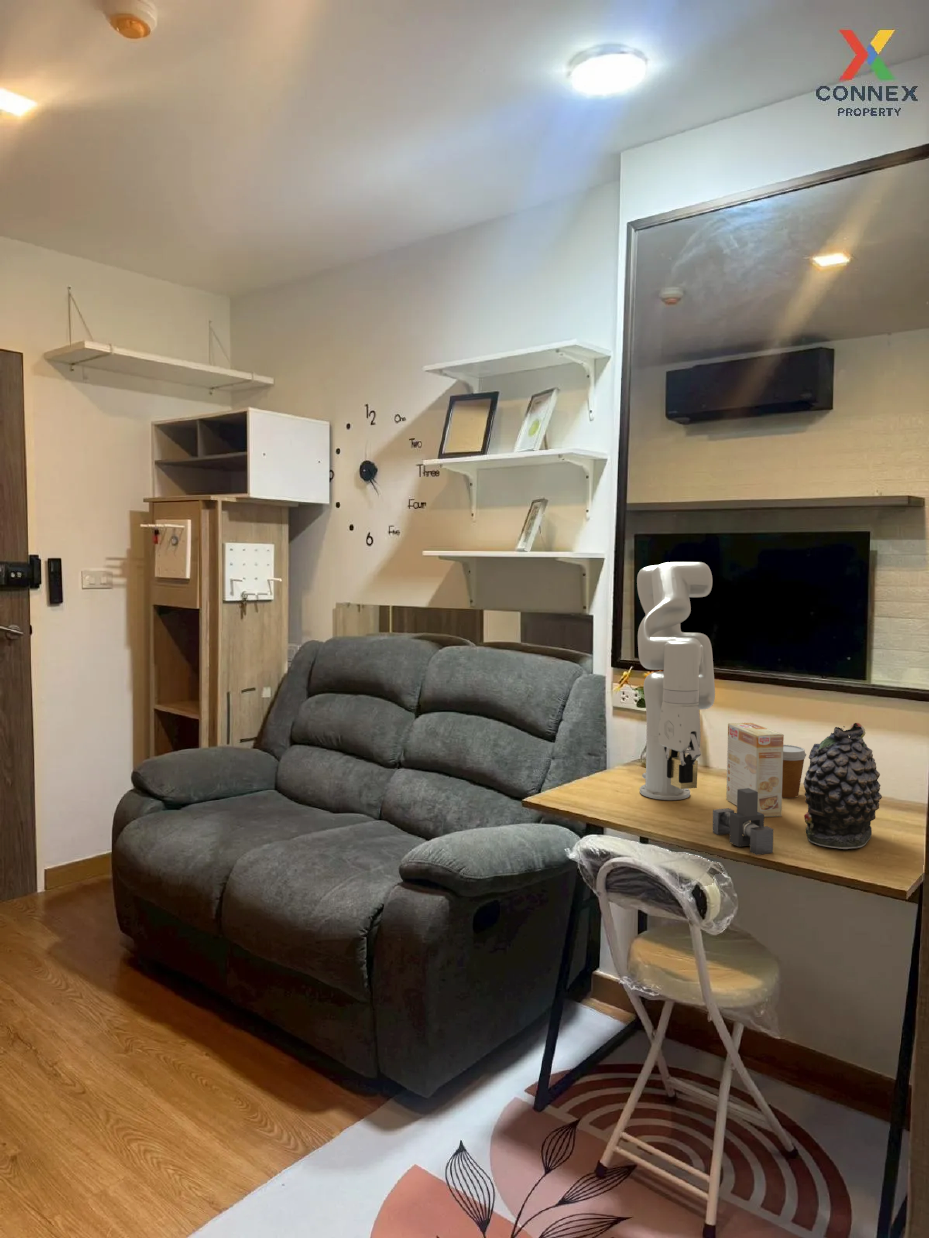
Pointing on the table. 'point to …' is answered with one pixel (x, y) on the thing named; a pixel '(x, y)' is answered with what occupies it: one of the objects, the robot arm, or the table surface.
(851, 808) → the pinecone sculpture
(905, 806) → the table surface
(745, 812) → the grey bracket
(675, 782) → the pale yellow rectangular block
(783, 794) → the disposable coffee cup
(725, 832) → the grey shaft with blocks
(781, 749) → the coffeecake box
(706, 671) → the robot arm
